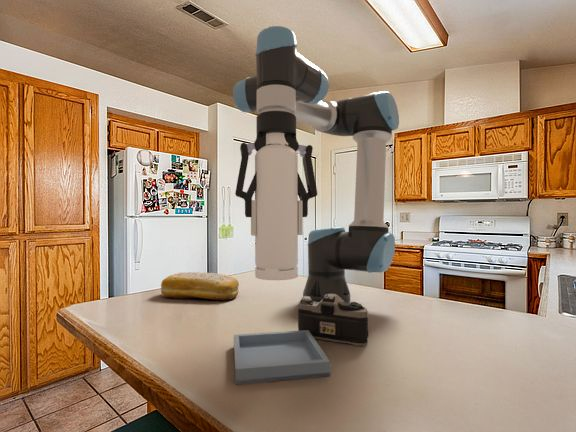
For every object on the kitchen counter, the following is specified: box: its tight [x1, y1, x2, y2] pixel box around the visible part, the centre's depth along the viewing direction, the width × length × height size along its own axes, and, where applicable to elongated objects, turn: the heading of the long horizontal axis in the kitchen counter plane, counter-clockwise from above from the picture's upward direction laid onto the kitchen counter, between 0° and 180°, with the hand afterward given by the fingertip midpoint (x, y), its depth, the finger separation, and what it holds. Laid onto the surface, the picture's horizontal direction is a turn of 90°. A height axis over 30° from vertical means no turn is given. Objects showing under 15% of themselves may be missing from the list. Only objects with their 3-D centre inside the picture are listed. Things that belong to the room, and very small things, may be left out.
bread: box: [160, 271, 240, 301], centre depth 115 cm, size 13×26×8 cm, turn 82°
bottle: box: [254, 133, 299, 281], centre depth 64 cm, size 8×8×28 cm
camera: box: [297, 294, 369, 347], centre depth 77 cm, size 16×10×10 cm, turn 66°
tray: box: [233, 330, 331, 385], centre depth 64 cm, size 16×16×2 cm
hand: (276, 234), depth 64 cm, fingers closed on bottle, 8 cm apart
